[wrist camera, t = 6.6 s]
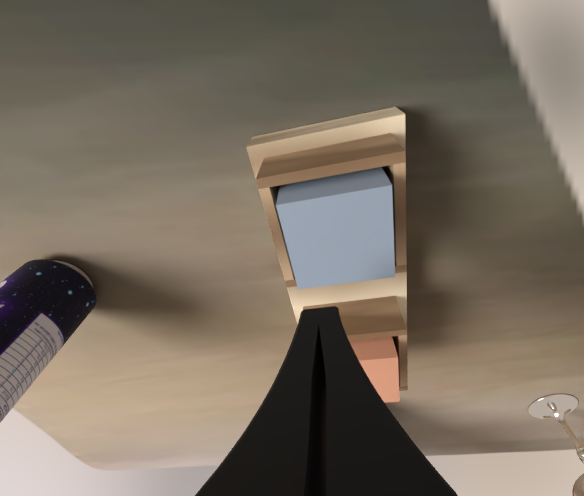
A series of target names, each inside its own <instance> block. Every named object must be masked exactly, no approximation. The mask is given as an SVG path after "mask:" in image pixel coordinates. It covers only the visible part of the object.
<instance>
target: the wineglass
mask: <svg viewBox="0 0 584 496" xmlns="http://www.w3.org/2000/svg"><path fill="white" fill-rule="evenodd" d="M577 406H578V400H577V399H576V398H575V397H574V396H571V395H567V394H554V395H549V396H545V397H542V398H540V399H538V400H536V401H534V402H533V403H532V404H531V405H530V406H529V407H528V412H529V414H530V415H531V416H533V417H535V418H540V419H551V418H555V419H556V420H557V421H558V422H559V423H560V424H561V425H562V426H563V428H564V429H565V431H566V432H567V434H568V435H569V437H570V438H571V440H572V442H573V444H574V446H575V448H576V451H577V454H578V456H579V458H580V460H581V461H582V462H583V463H584V446H583V445H582V444H581V442H580V441H579V440H578V439H577V438H576V436H575V435H574V433H573V432H572V431H571V429H570V428H569V426H568V425H567V423H566V421H565V418H564V415H566V414H568V413H570V412H572V411H573V410H574V409H575V408H576V407H577ZM573 496H584V474H583V475H581V476H580V477H579V478H578V479H577V480H576V482H575V484H574V486H573Z"/></svg>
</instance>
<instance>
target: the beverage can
mask: <svg viewBox="0 0 584 496" xmlns="http://www.w3.org/2000/svg"><path fill="white" fill-rule="evenodd" d="M95 304H96V294H95V291H94V289H93V285H92V282H91V280H90V279H89V277H88V276H87V275H86V274H85V273H84V272H83V271H81V270H80V269H79V268H77V267H75V266H73V265H71V264H69V263H66V262H63V261H54V260H53V261H51V260H32V261H29V262H27V263H25V264H24V265H23V266H21V267H20V268H19V269H18V270H16V271H15V272H14V273H12V274H11V275H10V276H9V277H7V278H6V279H5V280H3V281H2V282H1V283H0V422H1V421H2V420H3V419H4V417H5V416H6V415H7V414H8V412H9V411H10V410H11V409H12V408H13V406H14V405H15V404H16V403H17V401H18V400H19V399H20V398H21V396H22V395H23V394H24V393H25V392H26V390H27V389H28V388H29V387H30V385H31V384H32V383H33V382H34V380H35V379H36V378H37V377H38V376H39V374H40V373H41V372H42V371H43V369H44V368H45V367H46V366H47V365H48V363H49V362H50V361H51V360H52V358H53V357H54V356H55V355H56V353H57V352H58V351H59V350H60V349H61V347H62V346H63V345H64V344H65V342H66V341H67V340H68V339H69V337H70V336H71V335H72V334H73V333H74V331H75V330H76V329H77V328H78V326H79V325H80V324H81V323H82V322H83V320H84V319H85V318H86V317H87V315H88V314H89V313H90V312H91V310H92V309H93V308H94V307H95Z"/></svg>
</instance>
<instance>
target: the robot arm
mask: <svg viewBox="0 0 584 496" xmlns="http://www.w3.org/2000/svg"><path fill="white" fill-rule="evenodd" d="M195 496H457V494H456V492H455V491H454V490H453V489H452V488H451V487H450V485H449V484H448V483H447V482H446V481H445V480H444V479H443V478H442V476H441V475H440V474H439V473H438V472H437V471H436V470H435V468H434V467H433V466H432V465H431V463H430V462H429V461H428V460H427V459H426V457H425V456H424V455H423V454H422V452H421V451H420V450H419V449H418V447H417V446H416V445H415V444H414V443H413V441H412V440H411V439H410V437H409V436H408V435H407V433H406V432H405V431H404V429H403V428H402V427H401V425H400V424H399V423H398V421H397V420H396V419H395V417H394V416H393V415H392V413H391V412H390V410H389V409H388V407H387V406H386V404H385V403H384V401H383V400H382V398H381V397H380V395H379V394H378V392H377V391H376V389H375V388H374V386H373V384H372V383H371V381H370V380H369V378H368V376H367V374H366V373H365V371H364V369H363V367H362V366H361V364H360V362H359V360H358V358H357V356H356V354H355V352H354V350H353V348H352V346H351V344H350V342H349V340H348V337H347V335H346V333H345V330H344V327H343V325H342V322H341V318H340V315H339V309H338V307H336V306H331V307H322V308H313V309H304V310H303V311H302V312H301V314H300V319H299V322H298V325H297V329H296V332H295V334H294V337H293V340H292V343H291V345H290V347H289V350H288V352H287V355H286V357H285V360H284V362H283V364H282V366H281V368H280V370H279V373H278V375H277V377H276V379H275V381H274V383H273V385H272V387H271V389H270V390H269V392H268V394H267V396H266V398H265V399H264V401H263V403H262V405H261V406H260V408H259V410H258V411H257V413H256V414H255V416H254V418H253V419H252V421H251V422H250V424H249V425H248V427H247V428H246V430H245V431H244V433H243V434H242V436H241V437H240V439H239V440H238V441H237V443H236V444H235V445H234V447H233V448H232V450H231V451H230V452H229V454H228V455H227V456H226V458H225V459H224V461H223V462H222V463H221V464H220V466H219V467H218V469H217V470H216V471H215V472H214V473H213V474H212V476H211V477H210V478H209V479H208V481H207V482H206V483H205V484H204V485H203V487H202V488H201V489H200V490H199V491H198V493H197V494H196V495H195Z"/></svg>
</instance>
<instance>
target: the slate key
mask: <svg viewBox="0 0 584 496" xmlns="http://www.w3.org/2000/svg"><path fill="white" fill-rule="evenodd" d="M276 208H277V211H278V215H279V219H280V223H281V227H282V230H283V234H284V238H285V242H286V245H287V249H288V253H289V257H290V261H291V264H292V268H293V272H294V276H295V280H296V283H297V287H298V289H306V288H314V287H322V286H330V285H337V284H345V283H353V282H361V281H369V280H376V279H384V278H392V277H395V256H394V226H393V197H392V184H391V182H390V181H389V179H388V177H387V175H386V174H385V172H384V170H383V169H382V167H377V168H372V169H366V170H361V171H356V172H350V173H345V174H339V175H334V176H328V177H323V178H317V179H312V180H306V181H301V182H296V183H290V184H285V185H280V188H279V193H278V197H277V202H276Z"/></svg>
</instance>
